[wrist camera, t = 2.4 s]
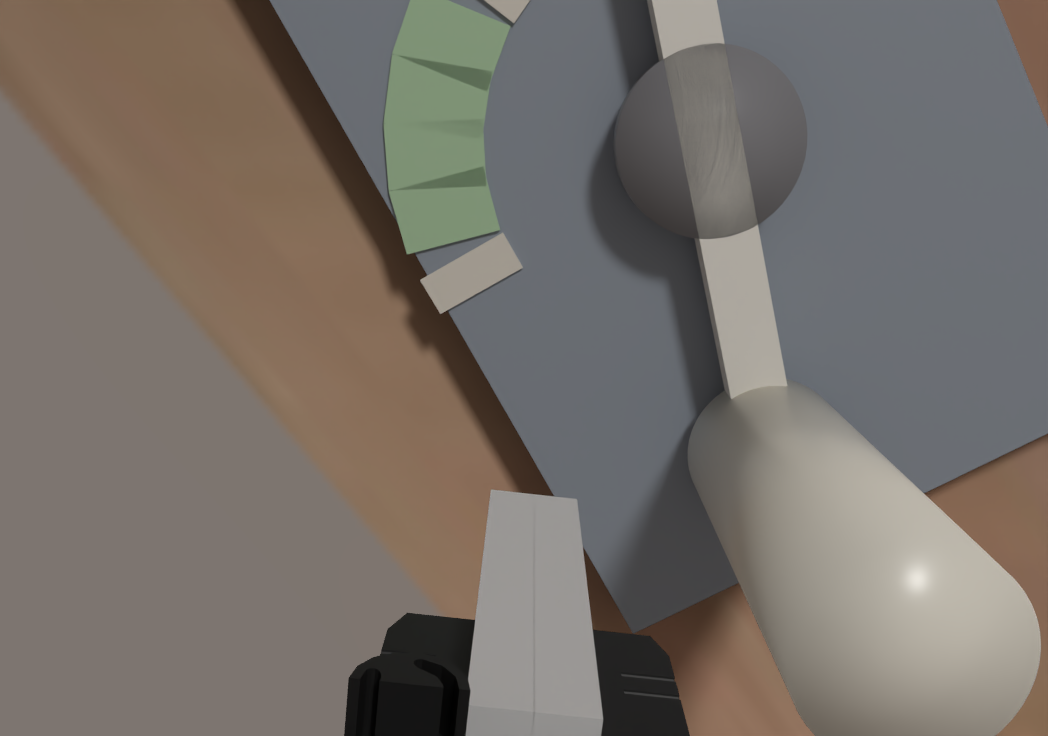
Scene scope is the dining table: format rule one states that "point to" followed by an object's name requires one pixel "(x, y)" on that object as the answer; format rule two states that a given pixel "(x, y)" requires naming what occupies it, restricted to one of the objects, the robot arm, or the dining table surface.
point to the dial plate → (671, 259)
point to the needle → (808, 433)
